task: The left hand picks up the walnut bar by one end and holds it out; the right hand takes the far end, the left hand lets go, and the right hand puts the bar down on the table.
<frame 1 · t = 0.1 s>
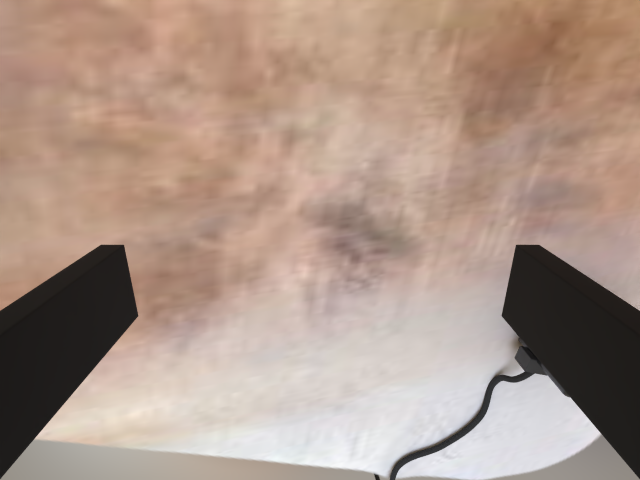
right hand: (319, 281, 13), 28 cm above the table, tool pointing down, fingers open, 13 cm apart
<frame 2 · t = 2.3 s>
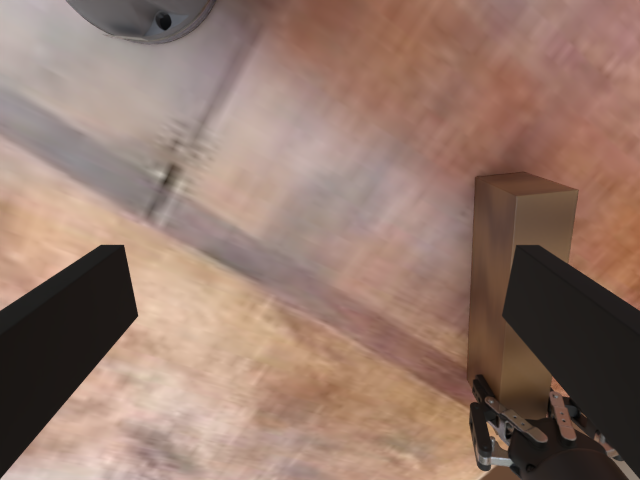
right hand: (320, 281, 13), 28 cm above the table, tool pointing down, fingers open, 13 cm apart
bar: (492, 286, 44), on the table, touching left hand
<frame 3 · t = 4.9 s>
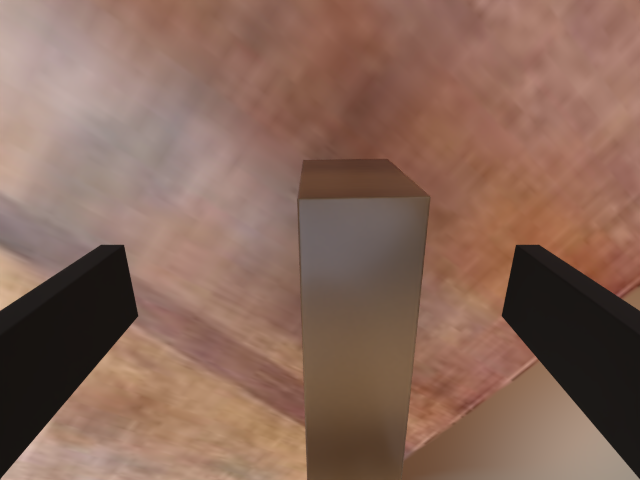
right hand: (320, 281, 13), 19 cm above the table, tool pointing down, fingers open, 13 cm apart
bar: (343, 342, 27), point 7 cm above the table, touching left hand
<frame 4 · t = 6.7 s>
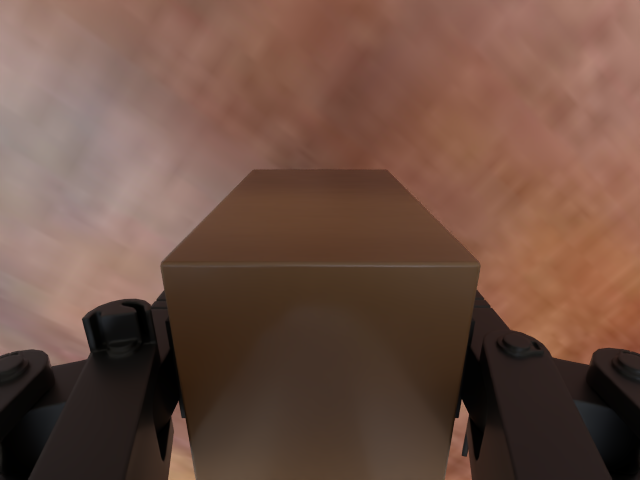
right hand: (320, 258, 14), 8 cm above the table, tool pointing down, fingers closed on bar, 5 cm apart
bar: (319, 433, 19), point 7 cm above the table, touching right hand, left hand
when the left hand's fingers open (12 cm above the table, at t = 7.5 s): bar stays where it is, held by the right hand.
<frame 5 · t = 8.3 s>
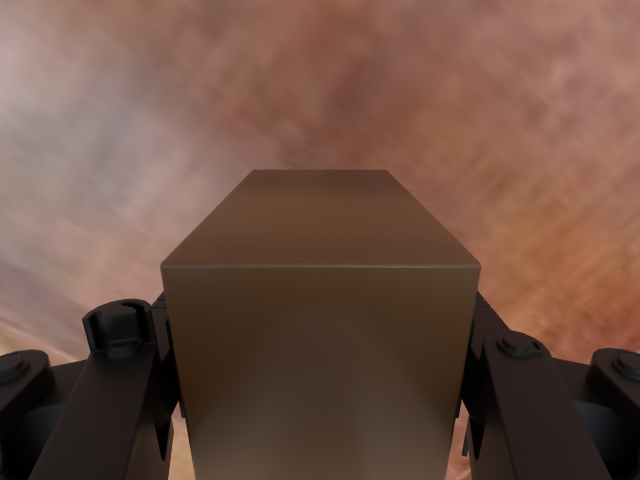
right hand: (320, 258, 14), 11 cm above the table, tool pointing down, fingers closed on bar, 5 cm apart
bar: (319, 434, 19), point 10 cm above the table, touching right hand
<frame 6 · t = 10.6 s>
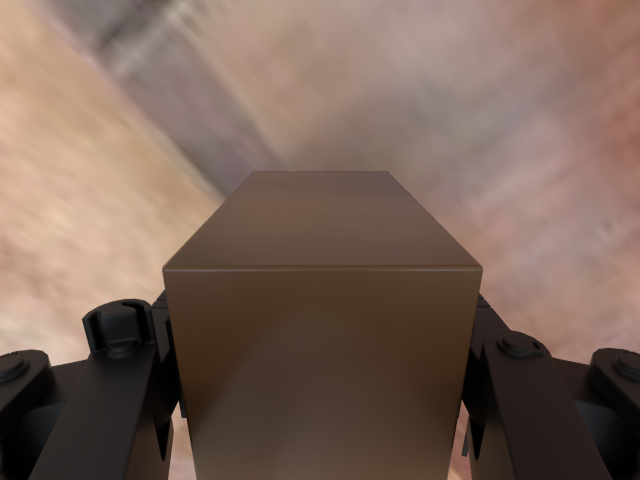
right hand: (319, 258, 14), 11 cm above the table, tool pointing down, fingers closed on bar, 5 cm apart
bar: (320, 435, 19), point 10 cm above the table, touching right hand
when the right hand's fingers open (2 cm above the table, at t = 14.6 s): bar stays where it is, on the table.
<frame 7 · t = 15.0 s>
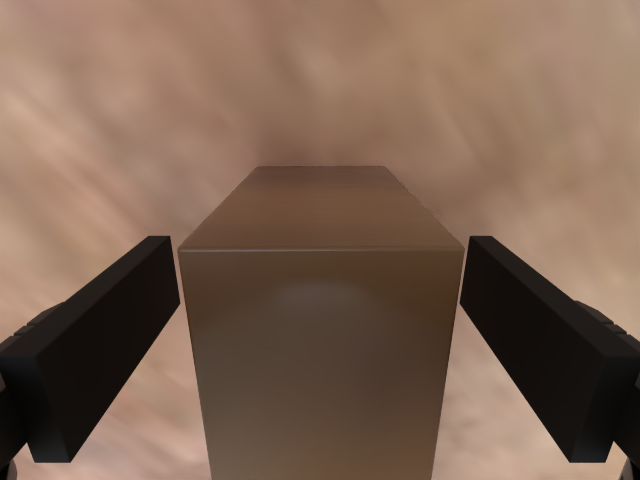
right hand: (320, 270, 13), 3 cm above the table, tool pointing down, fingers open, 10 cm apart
bar: (321, 421, 19), on the table
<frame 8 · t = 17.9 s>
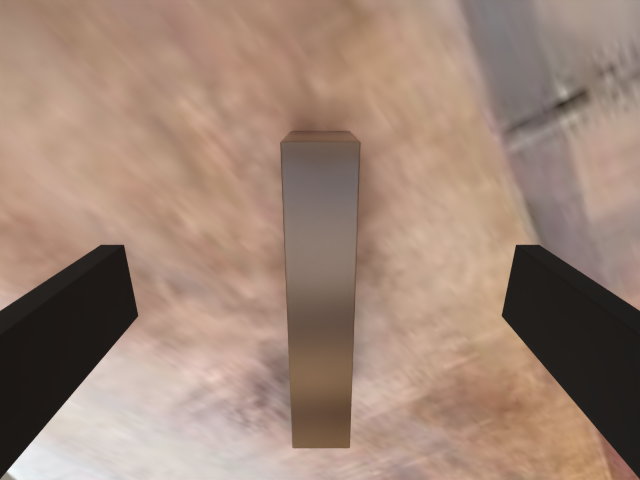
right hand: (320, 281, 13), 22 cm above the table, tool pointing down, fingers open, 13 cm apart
bar: (320, 271, 37), on the table
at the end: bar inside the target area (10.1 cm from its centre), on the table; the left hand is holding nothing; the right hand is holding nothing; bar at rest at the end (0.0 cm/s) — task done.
